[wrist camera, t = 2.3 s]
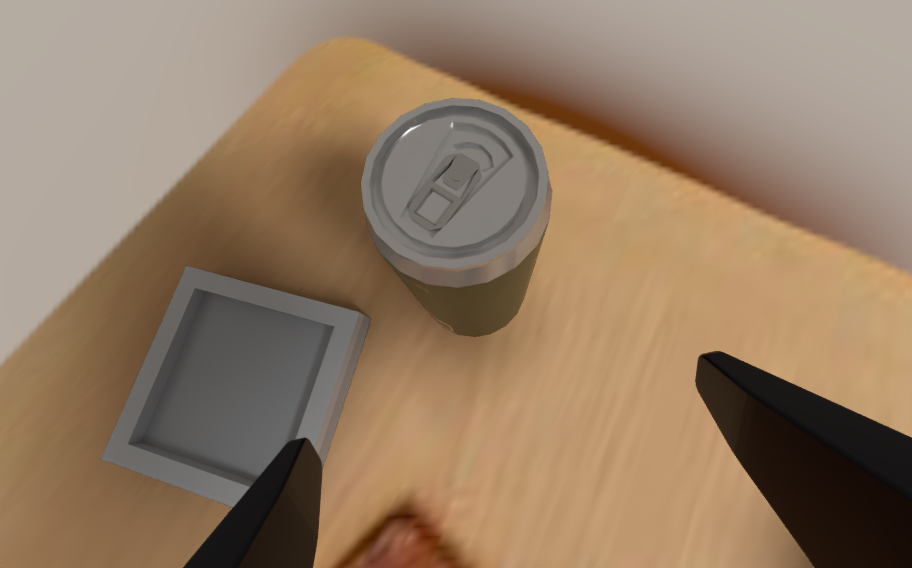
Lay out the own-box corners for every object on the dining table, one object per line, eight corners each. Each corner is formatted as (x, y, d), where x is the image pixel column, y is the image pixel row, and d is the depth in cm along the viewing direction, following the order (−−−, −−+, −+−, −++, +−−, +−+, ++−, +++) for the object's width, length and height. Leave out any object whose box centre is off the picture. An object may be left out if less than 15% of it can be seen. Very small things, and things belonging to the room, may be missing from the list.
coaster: (371, 319, 22) (359, 312, 20) (307, 514, 20) (287, 527, 18) (211, 275, 24) (186, 265, 22) (135, 453, 22) (100, 459, 20)
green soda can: (487, 359, 21) (479, 320, 10) (405, 302, 22) (311, 206, 11) (543, 276, 22) (598, 149, 11) (461, 225, 23) (430, 60, 12)
